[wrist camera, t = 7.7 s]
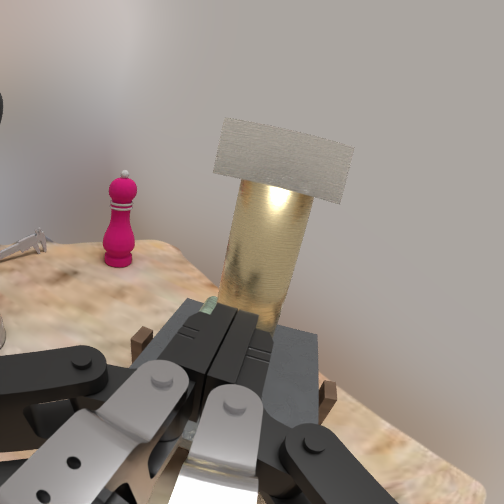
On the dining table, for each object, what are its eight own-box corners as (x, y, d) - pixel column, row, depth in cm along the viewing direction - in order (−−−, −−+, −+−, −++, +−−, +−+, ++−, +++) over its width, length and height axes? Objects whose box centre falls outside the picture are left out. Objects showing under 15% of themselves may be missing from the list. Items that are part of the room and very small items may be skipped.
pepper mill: (97, 265, 53) (102, 170, 46) (109, 252, 60) (116, 166, 53) (127, 271, 54) (136, 174, 47) (137, 258, 61) (146, 170, 54)
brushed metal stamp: (309, 477, 15) (473, 173, 8) (104, 412, 17) (101, 91, 10) (313, 344, 32) (372, 166, 25) (186, 308, 33) (216, 128, 26)
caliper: (45, 251, 52) (44, 225, 50) (46, 253, 52) (45, 227, 49) (-28, 270, 35) (-32, 242, 33) (-28, 272, 34) (-32, 243, 32)
